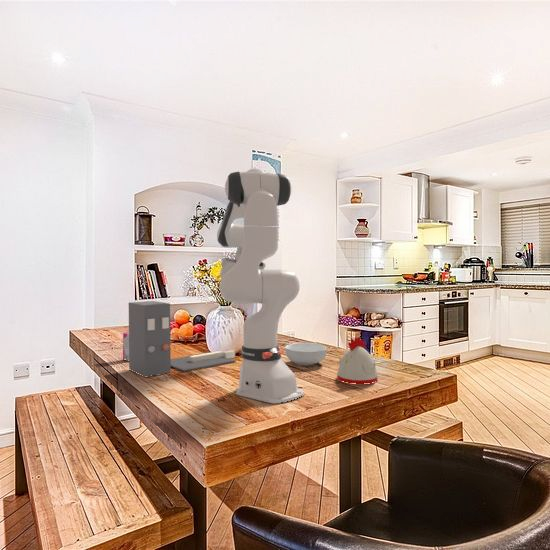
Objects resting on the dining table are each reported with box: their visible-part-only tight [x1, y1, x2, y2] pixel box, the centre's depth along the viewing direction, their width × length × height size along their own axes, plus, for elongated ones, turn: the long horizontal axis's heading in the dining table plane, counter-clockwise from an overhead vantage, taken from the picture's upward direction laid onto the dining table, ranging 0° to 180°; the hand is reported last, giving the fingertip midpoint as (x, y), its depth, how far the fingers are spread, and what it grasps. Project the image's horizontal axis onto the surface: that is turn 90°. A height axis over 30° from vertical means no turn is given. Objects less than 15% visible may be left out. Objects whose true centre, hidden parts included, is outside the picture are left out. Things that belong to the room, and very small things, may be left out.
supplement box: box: [122, 332, 129, 360], centre depth 177 cm, size 6×6×12 cm
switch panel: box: [128, 300, 172, 377], centre depth 158 cm, size 15×10×26 cm
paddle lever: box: [188, 349, 236, 362], centre depth 177 cm, size 6×20×3 cm, turn 132°
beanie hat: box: [336, 336, 378, 384], centre depth 148 cm, size 14×14×15 cm
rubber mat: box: [171, 352, 236, 373], centre depth 172 cm, size 20×24×1 cm
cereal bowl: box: [284, 342, 328, 367], centre depth 171 cm, size 17×17×7 cm
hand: (241, 292), depth 178 cm, fingers open, 8 cm apart
